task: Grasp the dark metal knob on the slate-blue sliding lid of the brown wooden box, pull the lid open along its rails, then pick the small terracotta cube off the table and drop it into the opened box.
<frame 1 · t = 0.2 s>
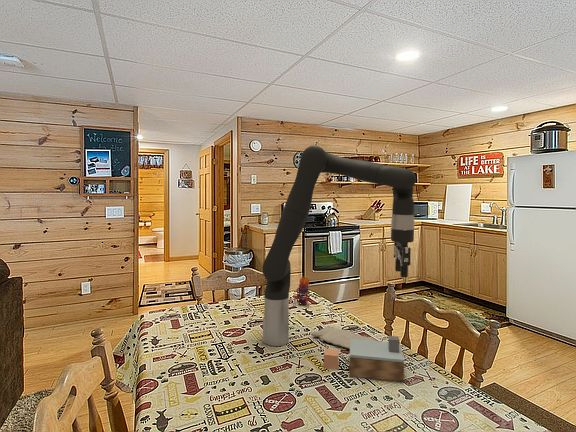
hand: (401, 274, 121), 28 cm above the table, fingers open, 8 cm apart
lid: (375, 343, 111), point 9 cm above the table, slide at 0.0 cm
stone tool: (346, 343, 133), on the table
cube: (331, 365, 115), on the table
figurine: (301, 305, 175), on the table
brown wooden box: (375, 369, 112), on the table
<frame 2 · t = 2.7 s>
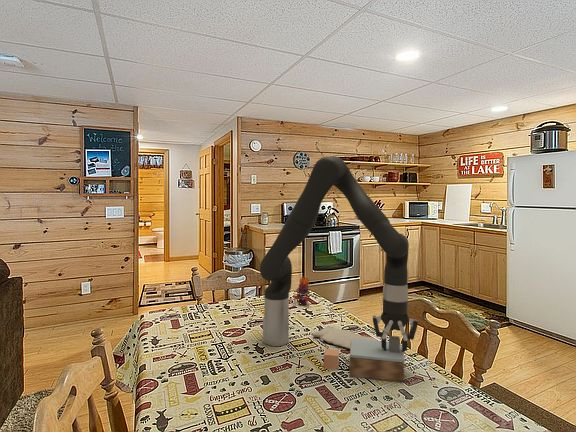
hand: (394, 350, 110), 7 cm above the table, fingers closed on lid, 5 cm apart
lid: (376, 343, 111), point 9 cm above the table, slide at 0.2 cm, touching gripper
everything else where it was.
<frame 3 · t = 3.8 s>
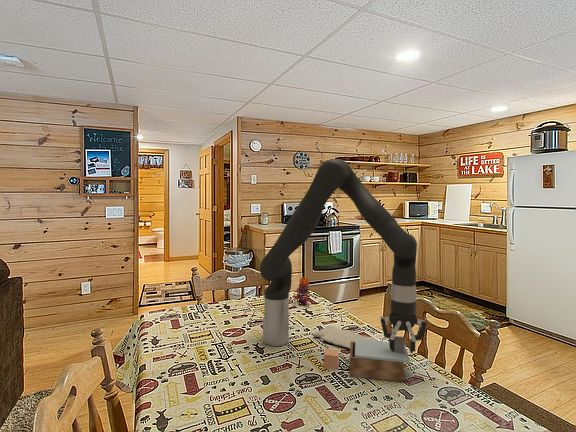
hand: (402, 350, 110), 7 cm above the table, fingers open, 5 cm apart
lid: (380, 344, 111), point 9 cm above the table, slide at 1.6 cm, touching gripper
everything else where it was.
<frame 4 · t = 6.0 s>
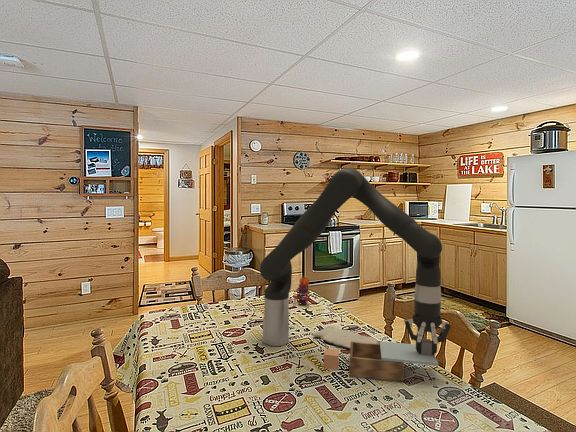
hand: (426, 353, 108), 7 cm above the table, fingers closed on lid, 3 cm apart
lid: (407, 346, 109), point 9 cm above the table, slide at 9.5 cm, touching gripper
everything else where it was.
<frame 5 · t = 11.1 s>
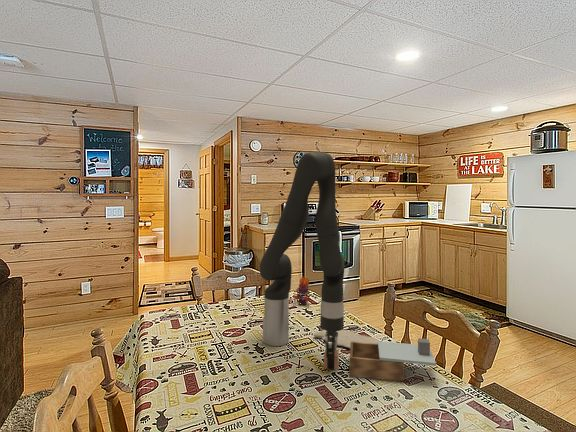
hand: (331, 364, 115), 0 cm above the table, fingers closed on cube, 4 cm apart
lid: (405, 346, 109), point 9 cm above the table, slide at 8.9 cm
cube: (331, 365, 115), on the table, touching gripper
everything else where it was.
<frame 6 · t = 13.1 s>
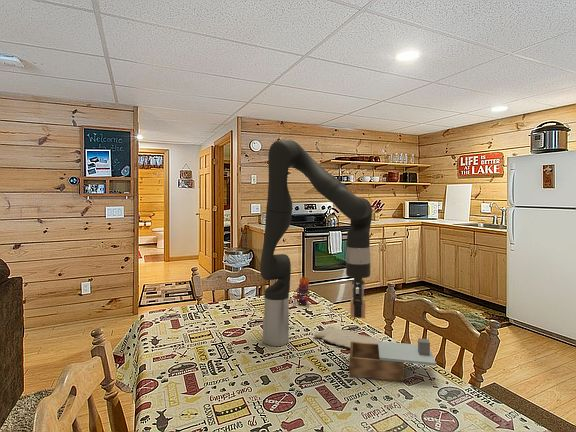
hand: (358, 314, 111), 18 cm above the table, fingers closed on cube, 4 cm apart
cube: (358, 315, 111), point 18 cm above the table, touching gripper
everything else where it was.
when the fingers open (6 cm above the table, at t = 15.5 s): cube drops 5 cm, resting on brown wooden box.
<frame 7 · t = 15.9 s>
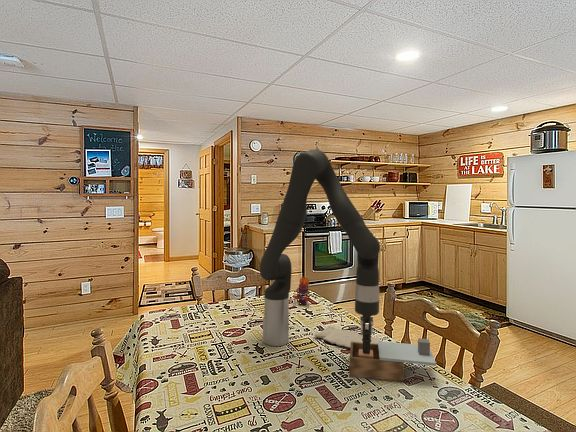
hand: (366, 347, 112), 7 cm above the table, fingers open, 8 cm apart
cube: (365, 366, 112), point 1 cm above the table, touching brown wooden box
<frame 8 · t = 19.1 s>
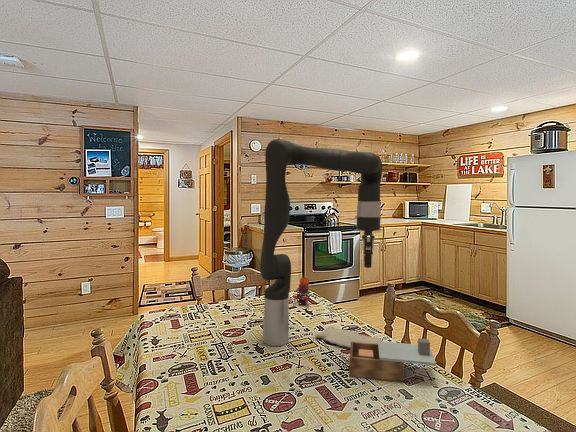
hand: (367, 264, 114), 33 cm above the table, fingers open, 8 cm apart
at the end: lid slide at 8.9 cm; cube inside the target area on the brown wooden box (3.0 cm from its centre), point 0.8 cm above the brown wooden box's base; the gripper is holding nothing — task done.
